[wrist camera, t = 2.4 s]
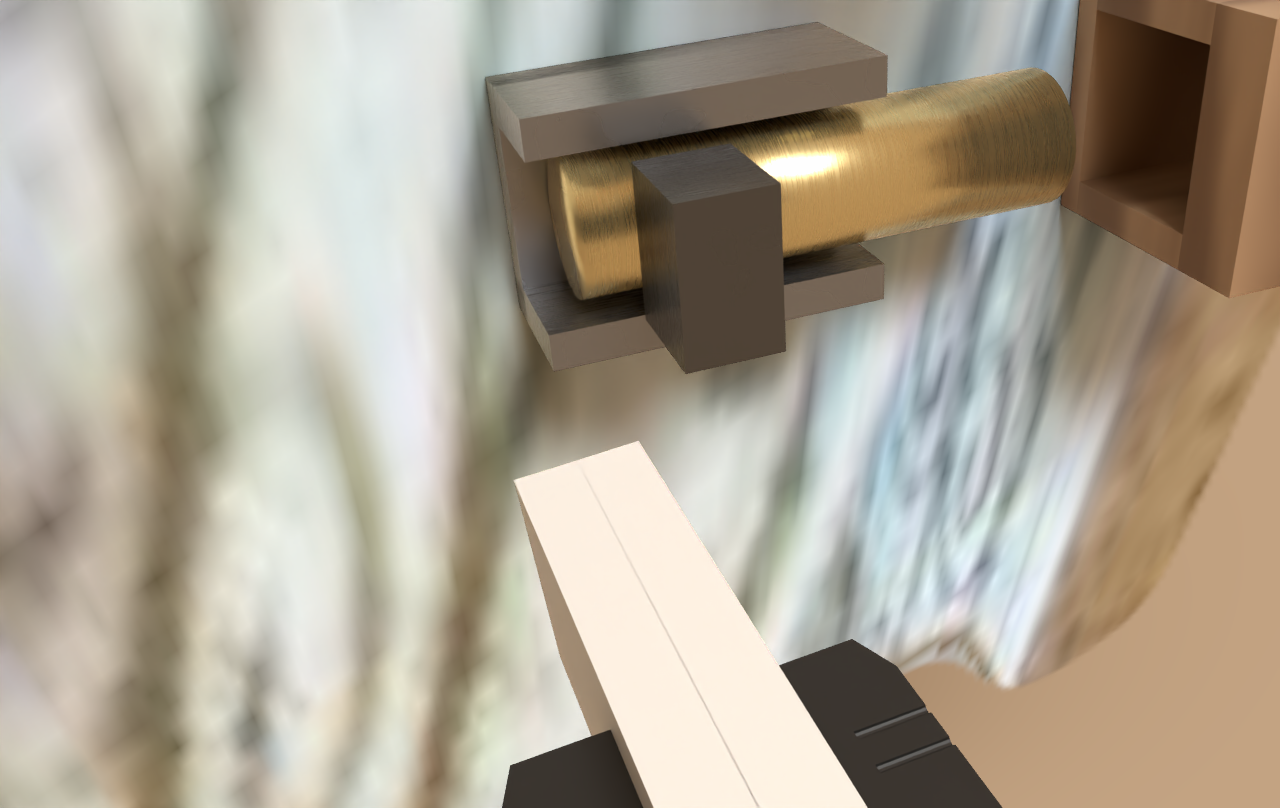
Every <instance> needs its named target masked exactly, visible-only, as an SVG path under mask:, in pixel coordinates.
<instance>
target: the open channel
mask: <svg viewBox="0 0 1280 808" xmlns="http://www.w3.org/2000/svg"><path fill="white" fill-rule="evenodd" d="M887 56H888V55H886V54H884V53H881V52H879V51H877V50H875V49H873V48H871V47H869V46H867V45H865V44H863V43H860V42H858V41H856V40H854V39H852V38H850V37H848V36H846V35H844V34H842V33H839V32H837V31H835V30H833V29H831V28H829V27H827V26H825V25H823V24H821V23H819V22H815V23H809V24H803V25H797V26H791V27H785V28H779V29H773V30H767V31H761V32H755V33H749V34H743V35H737V36H731V37H725V38H719V39H713V40H707V41H701V42H694V43H688V44H682V45H676V46H670V47H664V48H658V49H652V50H646V51H640V52H634V53H628V54H622V55H616V56H610V57H604V58H598V59H592V60H586V61H580V62H573V63H567V64H561V65H555V66H549V67H543V68H537V69H531V70H525V71H519V72H513V73H507V74H501V75H495V76H489V77H485V78H486V85H487V91H488V98H489V105H490V111H491V118H492V125H493V131H494V138H495V145H496V151H497V158H498V165H499V171H500V178H501V185H502V191H503V198H504V205H505V211H506V218H507V225H508V231H509V238H510V245H511V251H512V258H513V265H514V271H515V278H516V285H517V291H518V298H519V305H520V309H521V311H522V313H523V315H524V316H525V318H526V320H527V322H528V324H529V326H530V328H531V330H532V331H533V333H534V335H535V337H536V339H537V341H538V343H539V345H540V346H541V348H542V350H543V352H544V354H545V356H546V358H547V359H548V361H549V363H550V365H551V367H552V369H553V371H558V370H562V369H567V368H572V367H576V366H581V365H585V364H590V363H594V362H599V361H603V360H608V359H612V358H617V357H621V356H626V355H631V354H635V353H640V352H644V351H649V350H653V349H658V348H662V347H665V345H664V344H663V342H662V341H661V340H660V338H659V337H658V336H657V334H656V333H655V332H654V330H653V329H652V328H651V326H650V325H649V324H648V322H647V321H646V317H645V307H644V296H643V287H642V288H637V289H632V290H628V291H623V292H618V293H613V294H608V295H604V296H599V297H594V298H589V299H584V300H579V299H578V298H577V297H576V295H575V294H574V292H573V290H572V288H571V286H570V284H569V282H568V279H567V276H566V274H565V271H564V268H563V264H562V261H561V258H560V254H559V250H558V246H557V242H556V237H555V233H554V228H553V223H552V217H551V210H550V203H549V194H548V178H547V172H548V161H549V158H553V157H559V156H564V155H570V154H575V153H581V152H586V151H592V150H597V149H603V148H608V147H614V146H619V145H625V144H630V143H636V142H641V141H647V140H652V139H658V138H663V137H669V136H674V135H680V134H685V133H691V132H696V131H702V130H707V129H713V128H718V127H724V126H729V125H735V124H741V123H746V122H752V121H757V120H763V119H768V118H774V117H779V116H785V115H790V114H796V113H801V112H807V111H812V110H818V109H823V108H829V107H834V106H840V105H845V104H851V103H856V102H862V101H867V100H873V99H878V98H884V97H887ZM783 273H784V307H785V320H789V319H794V318H799V317H803V316H808V315H812V314H817V313H821V312H826V311H830V310H835V309H839V308H844V307H849V306H853V305H858V304H862V303H867V302H871V301H876V300H880V299H884V263H882V262H881V261H880V260H879V259H877V258H876V257H875V256H873V255H872V254H871V253H870V252H868V251H867V250H866V249H865V248H863V247H862V246H861V245H860V244H858V243H853V244H848V245H843V246H839V247H834V248H829V249H824V250H819V251H815V252H810V253H805V254H800V255H796V256H791V257H786V258H783Z"/></svg>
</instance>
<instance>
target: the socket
mask: <svg viewBox="0 0 1280 808" xmlns="http://www.w3.org/2000/svg"><path fill="white" fill-rule="evenodd" d="M1070 109H1071V112H1072V116H1073V121H1074V126H1075V135H1076V156H1075V163H1074V168H1073V172H1072V175H1071V178H1070V181H1069V183H1068V185H1067V187H1066V189H1065V190H1064V192H1063V193H1062V199H1061V205H1062V206H1064V207H1066V208H1068V209H1069V210H1071V211H1073V212H1075V213H1077V214H1078V215H1080V216H1082V217H1084V218H1086V219H1087V220H1089V221H1091V222H1093V223H1095V224H1096V225H1098V226H1100V227H1102V228H1104V229H1105V230H1107V231H1109V232H1111V233H1113V234H1114V235H1116V236H1118V237H1120V238H1122V239H1124V240H1125V241H1127V242H1129V243H1131V244H1133V245H1134V246H1136V247H1138V248H1140V249H1142V250H1143V251H1145V252H1147V253H1149V254H1151V255H1152V256H1154V257H1156V258H1158V259H1160V260H1161V261H1163V262H1165V263H1167V264H1169V265H1170V266H1172V267H1174V268H1176V269H1178V270H1179V271H1181V272H1183V273H1185V274H1187V275H1188V276H1190V277H1192V278H1194V279H1196V280H1197V281H1199V282H1201V283H1203V284H1205V285H1206V286H1208V287H1210V288H1212V289H1214V290H1215V291H1217V292H1219V293H1221V294H1223V295H1224V296H1226V297H1228V298H1232V297H1236V296H1241V295H1245V294H1249V293H1253V292H1258V291H1262V290H1266V289H1270V288H1274V287H1279V286H1280V0H1080V4H1079V15H1078V26H1077V37H1076V47H1075V58H1074V69H1073V80H1072V91H1071V101H1070Z"/></svg>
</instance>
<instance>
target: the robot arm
mask: <svg viewBox="0 0 1280 808" xmlns="http://www.w3.org/2000/svg"><path fill="white" fill-rule="evenodd" d="M514 483H515V487H516V490H517V494H518V498H519V502H520V506H521V509H522V513H523V517H524V521H525V525H526V529H527V532H528V536H529V540H530V544H531V548H532V551H533V555H534V559H535V563H536V567H537V570H538V574H539V578H540V582H541V586H542V589H543V593H544V597H545V601H546V605H547V608H548V612H549V616H550V620H551V624H552V627H553V631H554V635H555V639H556V643H557V646H558V650H559V654H560V657H561V660H562V662H563V665H564V667H565V670H566V673H567V675H568V678H569V680H570V683H571V685H572V688H573V690H574V693H575V695H576V698H577V700H578V703H579V705H580V708H581V710H582V713H583V715H584V718H585V720H586V723H587V726H588V728H589V731H590V733H591V737H588V738H585V739H582V740H580V741H577V742H574V743H571V744H569V745H566V746H563V747H560V748H557V749H555V750H552V751H549V752H546V753H544V754H541V755H538V756H535V757H532V758H530V759H527V760H524V761H521V762H519V763H516V764H513V765H510V770H509V775H508V780H507V785H506V790H505V795H504V800H503V806H502V808H1002V807H1001V805H1000V804H999V802H998V801H997V800H996V798H995V797H994V796H993V795H992V793H991V792H990V791H989V789H988V788H987V786H986V785H985V784H984V782H983V781H982V780H981V778H980V777H979V776H978V774H977V773H976V772H975V770H974V769H973V768H972V766H971V765H970V764H969V762H968V761H967V760H966V758H965V757H964V756H963V754H962V753H961V752H960V750H959V749H958V748H957V746H956V745H952V743H951V741H950V738H949V736H948V734H947V733H946V732H945V730H944V729H943V728H942V726H941V725H940V724H939V722H938V721H937V720H936V718H935V717H934V716H933V714H932V713H928V711H927V709H926V706H925V704H924V702H923V701H922V700H921V698H920V697H919V696H918V694H917V693H916V692H915V690H914V689H913V688H912V686H911V685H910V683H909V682H908V681H907V679H906V678H905V677H904V675H903V674H902V673H901V671H900V670H899V669H898V667H897V666H896V665H894V664H892V663H891V662H889V661H887V660H886V659H884V658H882V657H881V656H879V655H878V654H876V653H874V652H873V651H871V650H869V649H868V648H866V647H864V646H863V645H861V644H859V643H858V642H856V641H854V640H853V639H851V640H848V641H845V642H843V643H840V644H837V645H834V646H832V647H829V648H826V649H823V650H820V651H818V652H815V653H812V654H809V655H807V656H804V657H801V658H798V659H795V660H793V661H790V662H787V663H784V664H782V665H778V663H777V662H776V660H775V659H774V657H773V655H772V654H771V652H770V651H769V649H768V647H767V646H766V644H765V643H764V641H763V639H762V638H761V636H760V635H759V633H758V631H757V630H756V628H755V627H754V625H753V623H752V622H751V620H750V619H749V617H748V615H747V614H746V612H745V610H744V609H743V607H742V606H741V604H740V602H739V601H738V599H737V598H736V596H735V594H734V593H733V591H732V590H731V588H730V586H729V585H728V583H727V582H726V580H725V578H724V577H723V575H722V574H721V572H720V570H719V569H718V567H717V566H716V564H715V562H714V561H713V559H712V558H711V556H710V554H709V553H708V551H707V550H706V548H705V546H704V545H703V543H702V542H701V540H700V538H699V537H698V535H697V534H696V532H695V530H694V529H693V527H692V526H691V524H690V522H689V521H688V519H687V518H686V516H685V514H684V513H683V511H682V510H681V508H680V506H679V505H678V503H677V501H676V500H675V498H674V497H673V495H672V493H671V492H670V490H669V489H668V487H667V485H666V484H665V482H664V481H663V479H662V477H661V476H660V474H659V473H658V471H657V469H656V468H655V466H654V465H653V463H652V461H651V460H650V458H649V457H648V455H647V453H646V452H645V450H644V449H643V447H642V445H641V444H640V442H639V441H636V442H633V443H630V444H627V445H623V446H620V447H617V448H614V449H611V450H608V451H604V452H601V453H598V454H595V455H592V456H589V457H585V458H582V459H579V460H576V461H573V462H570V463H567V464H563V465H560V466H557V467H554V468H551V469H548V470H544V471H541V472H538V473H535V474H532V475H529V476H525V477H522V478H519V479H516V480H514Z"/></svg>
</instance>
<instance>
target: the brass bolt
mask: <svg viewBox="0 0 1280 808" xmlns="http://www.w3.org/2000/svg"><path fill="white" fill-rule="evenodd" d="M1075 156H1076V135H1075V126H1074V121H1073V116H1072V112H1071V109H1070V106H1069V103H1068V101H1067V99H1066V96H1065V94H1064V92H1063V91H1062V89H1061V87H1060V86H1059V84H1058V83H1057V82H1056V80H1055V79H1054V78H1053V77H1052V76H1051V75H1049V74H1048V73H1047V72H1045V71H1043V70H1041V69H1038V68H1026V69H1020V70H1015V71H1009V72H1003V73H998V74H992V75H987V76H981V77H976V78H970V79H965V80H959V81H954V82H948V83H943V84H937V85H932V86H926V87H921V88H915V89H910V90H904V91H899V92H893V93H888V94H887V97H884V98H878V99H873V100H867V101H862V102H856V103H851V104H845V105H840V106H834V107H829V108H823V109H818V110H812V111H807V112H801V113H796V114H790V115H785V116H779V117H774V118H768V119H763V120H757V121H752V122H746V123H741V124H735V125H729V126H724V127H718V128H713V129H707V130H702V131H696V132H691V133H685V134H680V135H674V136H669V137H663V138H658V139H652V140H647V141H641V142H636V143H630V144H625V145H619V146H614V147H608V148H603V149H597V150H592V151H586V152H581V153H575V154H570V155H564V156H559V157H553V158H549V161H548V172H547V178H548V194H549V203H550V210H551V217H552V223H553V228H554V233H555V237H556V242H557V246H558V250H559V254H560V258H561V261H562V264H563V268H564V271H565V274H566V276H567V279H568V282H569V284H570V286H571V288H572V290H573V292H574V294H575V295H576V297H577V298H578V299H579V300H584V299H589V298H594V297H599V296H604V295H608V294H613V293H618V292H623V291H628V290H632V289H637V288H642V287H643V296H644V307H645V317H646V321H647V322H648V324H649V325H650V326H651V328H652V329H653V330H654V332H655V333H656V334H657V336H658V337H659V338H660V340H661V341H662V342H663V344H664V345H665V347H666V348H667V349H668V351H669V352H670V353H671V355H672V356H673V357H674V359H675V360H676V361H677V363H678V364H679V366H680V367H681V368H682V370H683V371H684V372H685V374H688V373H692V372H697V371H701V370H705V369H710V368H714V367H719V366H723V365H728V364H732V363H736V362H741V361H745V360H750V359H754V358H759V357H763V356H767V355H772V354H776V353H781V352H785V351H786V342H785V307H784V273H783V258H786V257H791V256H796V255H800V254H805V253H810V252H815V251H819V250H824V249H829V248H834V247H839V246H843V245H848V244H853V243H858V242H863V241H867V240H872V239H877V238H882V237H887V236H891V235H896V234H901V233H906V232H911V231H915V230H920V229H925V228H930V227H935V226H939V225H944V224H949V223H954V222H959V221H963V220H968V219H973V218H978V217H983V216H987V215H992V214H997V213H1002V212H1007V211H1011V210H1016V209H1021V208H1026V207H1031V206H1035V205H1040V204H1045V203H1049V202H1052V201H1054V200H1055V199H1057V198H1058V197H1059V196H1060V195H1061V194H1062V193H1063V192H1064V190H1065V189H1066V187H1067V185H1068V183H1069V181H1070V178H1071V175H1072V172H1073V168H1074V163H1075Z"/></svg>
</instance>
